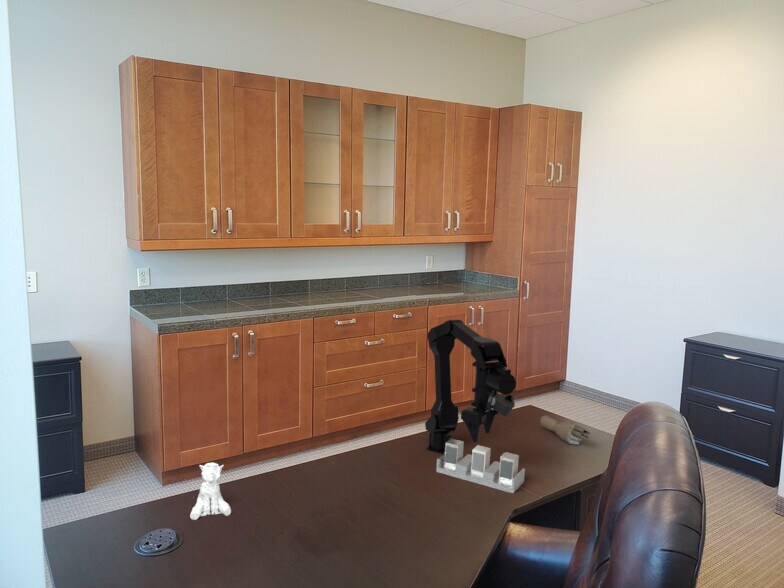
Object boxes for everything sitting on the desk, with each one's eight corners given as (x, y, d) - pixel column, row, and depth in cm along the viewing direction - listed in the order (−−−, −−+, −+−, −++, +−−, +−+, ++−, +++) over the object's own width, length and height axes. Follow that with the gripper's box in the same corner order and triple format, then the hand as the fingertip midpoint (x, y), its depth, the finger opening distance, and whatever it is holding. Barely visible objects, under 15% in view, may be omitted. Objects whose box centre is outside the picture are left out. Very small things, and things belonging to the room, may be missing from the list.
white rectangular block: (470, 473, 176) (471, 449, 175) (476, 467, 180) (477, 445, 179) (483, 476, 174) (485, 453, 173) (489, 471, 178) (490, 448, 177)
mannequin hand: (555, 433, 223) (593, 454, 199) (537, 429, 221) (573, 449, 197) (560, 414, 223) (599, 432, 199) (542, 410, 222) (579, 427, 197)
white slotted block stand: (436, 471, 179) (438, 444, 178) (449, 461, 187) (451, 435, 186) (513, 493, 167) (515, 463, 166) (523, 482, 175) (526, 453, 174)
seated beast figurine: (190, 521, 144) (190, 473, 143) (188, 504, 152) (188, 459, 151) (231, 515, 148) (231, 468, 146) (227, 500, 156) (227, 455, 154)
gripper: (500, 397, 161) (496, 454, 163) (523, 382, 177) (519, 434, 179) (461, 390, 167) (458, 444, 169) (487, 376, 183) (483, 426, 185)
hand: (481, 437), depth 175 cm, fingers open, 9 cm apart
